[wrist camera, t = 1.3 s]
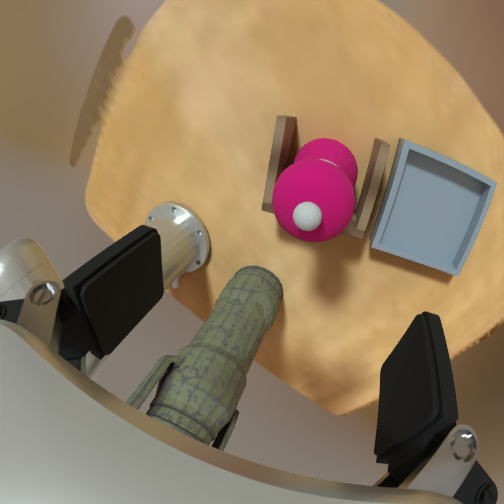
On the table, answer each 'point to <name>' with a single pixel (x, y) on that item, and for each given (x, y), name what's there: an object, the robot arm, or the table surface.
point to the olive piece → (214, 361)
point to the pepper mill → (317, 191)
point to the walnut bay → (369, 189)
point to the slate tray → (431, 209)
